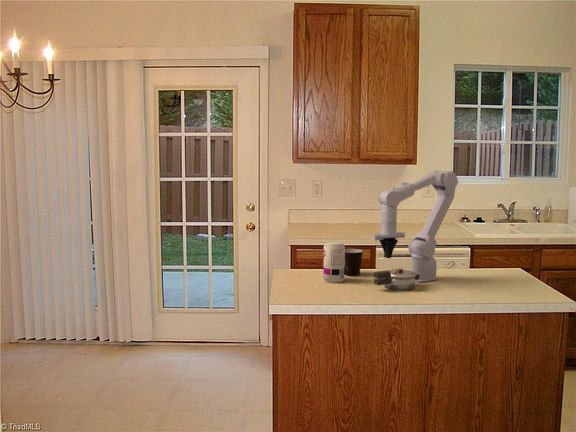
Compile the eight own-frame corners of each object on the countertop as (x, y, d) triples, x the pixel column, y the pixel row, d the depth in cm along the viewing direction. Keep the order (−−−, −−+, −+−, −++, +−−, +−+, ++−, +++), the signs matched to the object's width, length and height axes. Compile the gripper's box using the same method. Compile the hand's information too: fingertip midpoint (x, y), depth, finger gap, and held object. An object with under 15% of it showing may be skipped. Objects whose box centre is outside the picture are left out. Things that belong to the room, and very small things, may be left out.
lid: (401, 270, 205) (402, 264, 204) (422, 276, 194) (422, 271, 194) (366, 274, 197) (366, 269, 197) (386, 281, 187) (386, 276, 186)
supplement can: (320, 282, 205) (320, 243, 203) (327, 277, 212) (327, 240, 211) (340, 284, 202) (341, 245, 200) (346, 279, 209) (347, 241, 208)
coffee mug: (361, 277, 212) (362, 253, 211) (340, 276, 214) (340, 252, 213) (363, 271, 223) (363, 247, 222) (342, 270, 225) (343, 247, 224)
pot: (406, 281, 206) (406, 270, 206) (426, 287, 197) (427, 276, 196) (366, 287, 197) (367, 275, 196) (385, 294, 187) (386, 282, 187)
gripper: (396, 220, 208) (395, 254, 209) (367, 222, 201) (366, 257, 202) (409, 222, 201) (408, 257, 203) (378, 224, 194) (378, 261, 196)
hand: (388, 257), depth 202 cm, fingers closed
